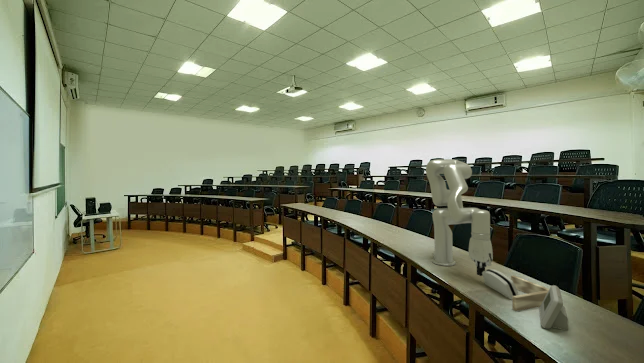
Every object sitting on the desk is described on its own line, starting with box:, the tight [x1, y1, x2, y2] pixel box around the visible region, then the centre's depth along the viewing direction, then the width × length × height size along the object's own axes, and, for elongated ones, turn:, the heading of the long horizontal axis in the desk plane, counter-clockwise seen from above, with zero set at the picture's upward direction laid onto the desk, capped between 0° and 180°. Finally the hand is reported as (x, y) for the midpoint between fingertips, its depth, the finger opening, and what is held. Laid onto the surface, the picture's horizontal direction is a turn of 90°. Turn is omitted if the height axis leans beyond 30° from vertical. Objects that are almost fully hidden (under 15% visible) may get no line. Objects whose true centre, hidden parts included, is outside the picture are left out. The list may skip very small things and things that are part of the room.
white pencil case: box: [482, 268, 521, 301], centre depth 119 cm, size 17×5×10 cm, turn 4°
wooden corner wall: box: [510, 275, 550, 312], centre depth 113 cm, size 18×20×5 cm
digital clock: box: [539, 284, 569, 331], centre depth 95 cm, size 16×9×11 cm, turn 131°
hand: (480, 274), depth 129 cm, fingers closed
